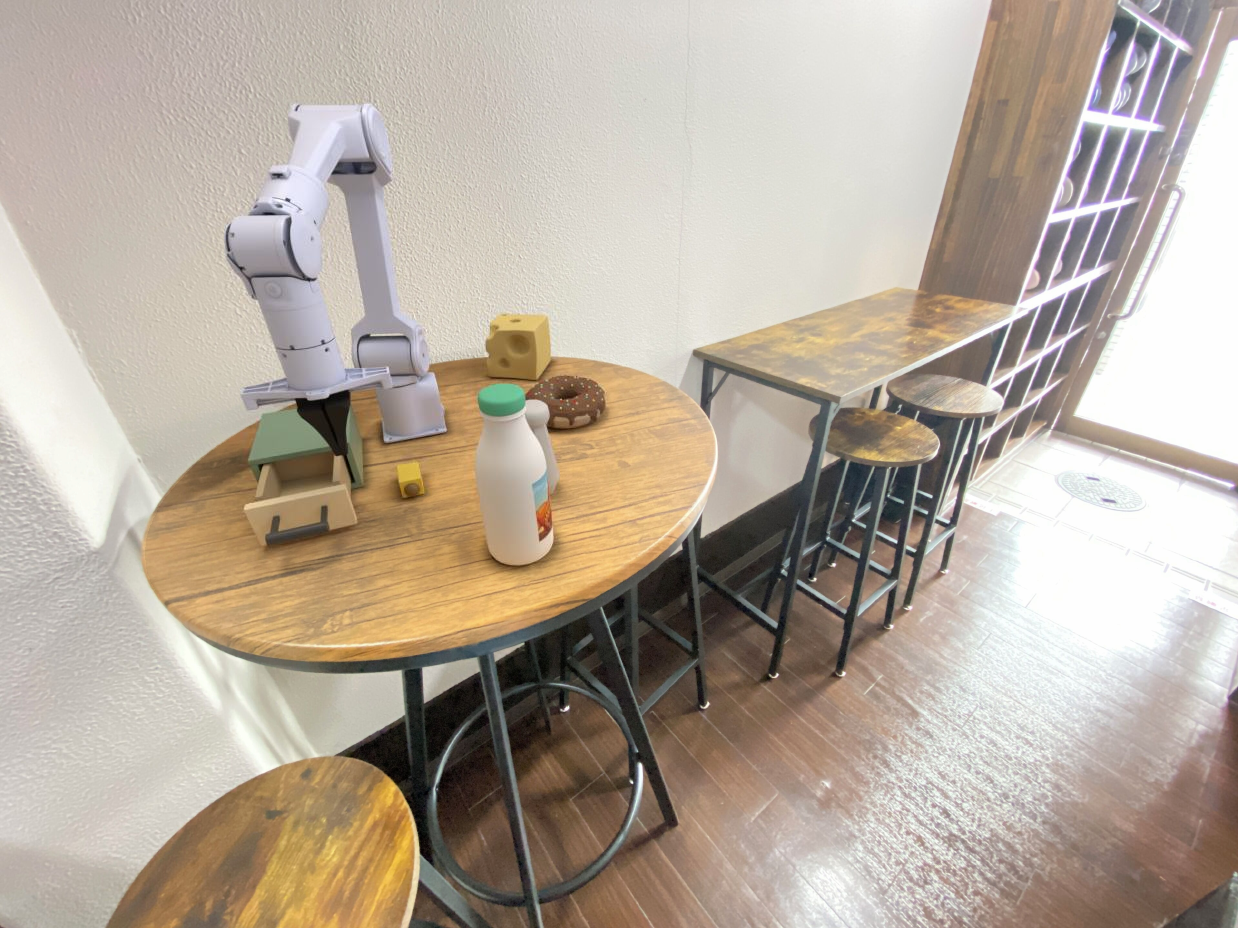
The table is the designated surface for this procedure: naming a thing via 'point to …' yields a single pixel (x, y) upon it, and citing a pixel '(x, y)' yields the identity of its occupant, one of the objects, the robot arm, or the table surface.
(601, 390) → the donut
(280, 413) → the cabinet
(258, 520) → the drawer
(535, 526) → the milk bottle
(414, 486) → the yellow knobbed cube
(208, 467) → the table surface
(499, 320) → the cheese
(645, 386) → the table surface
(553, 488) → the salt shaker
